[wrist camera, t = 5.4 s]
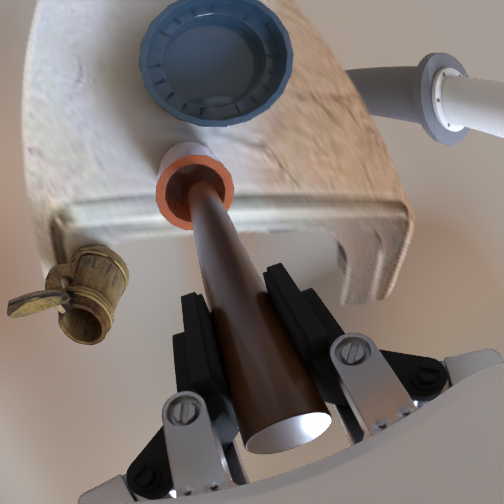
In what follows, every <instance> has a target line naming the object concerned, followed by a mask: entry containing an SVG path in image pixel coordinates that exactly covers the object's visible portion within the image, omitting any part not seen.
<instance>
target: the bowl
mask: <svg viewBox="0 0 504 504" xmlns="http://www.w3.org/2000/svg"><path fill="white" fill-rule="evenodd" d="M292 63H293V50H292V46H291V42H290V38H289V34H288V32H287V30H286V29H285V27H284V26H283V24H282V22H281V21H280V19H279V18H278V16H277V15H276V14H275V13H274V12H272V11H271V10H270V9H269V8H267V7H266V6H265V5H264V4H262V3H261V2H260V1H258V0H178V1H177V2H175V3H173V4H171V5H169V6H168V7H167V8H166V9H164V10H163V11H162V12H161V13H160V14H159V15H158V16H157V17H156V18H155V19H154V20H153V21H152V23H151V24H150V26H149V28H148V30H147V32H146V34H145V36H144V38H143V40H142V43H141V50H140V60H139V67H140V71H141V74H142V78H143V82H144V85H145V88H146V89H147V90H148V92H149V93H150V95H151V96H152V97H153V99H154V100H155V101H156V103H157V104H158V105H159V106H160V107H161V108H163V109H164V110H166V111H167V112H168V113H170V114H171V115H173V116H174V117H176V118H177V119H179V120H182V121H186V122H189V123H192V124H195V125H198V126H205V127H227V126H231V125H235V124H239V123H242V122H246V121H249V120H251V119H252V118H254V117H256V116H257V115H259V114H261V113H263V112H264V111H266V110H268V109H269V108H270V107H271V106H272V104H273V103H274V102H275V101H276V100H277V99H278V98H279V97H280V96H281V95H282V93H283V92H284V89H285V87H286V85H287V83H288V80H289V78H290V76H291V73H292Z"/></svg>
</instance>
